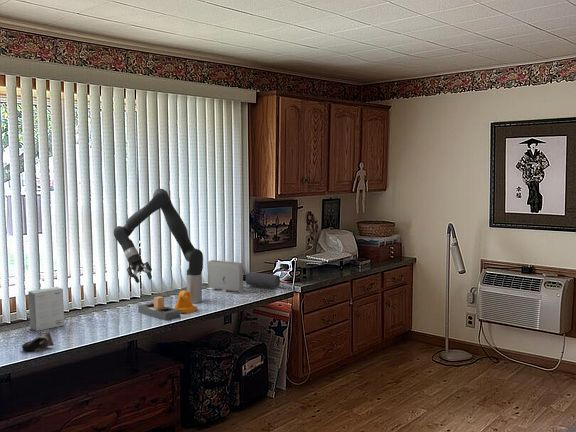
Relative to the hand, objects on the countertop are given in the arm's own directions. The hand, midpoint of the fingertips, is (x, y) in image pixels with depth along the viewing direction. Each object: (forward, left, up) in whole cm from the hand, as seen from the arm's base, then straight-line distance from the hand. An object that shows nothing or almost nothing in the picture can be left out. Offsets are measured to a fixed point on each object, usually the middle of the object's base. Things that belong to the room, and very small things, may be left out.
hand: (144, 280), depth 347 cm
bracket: (+1, +24, -18) cm, 30 cm away
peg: (+9, +10, -18) cm, 22 cm away
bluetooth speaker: (-66, +63, -18) cm, 93 cm away
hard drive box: (+37, -42, -18) cm, 58 cm away
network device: (-53, +39, -18) cm, 68 cm away
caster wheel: (+74, -30, -18) cm, 82 cm away
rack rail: (+9, +10, -18) cm, 22 cm away
